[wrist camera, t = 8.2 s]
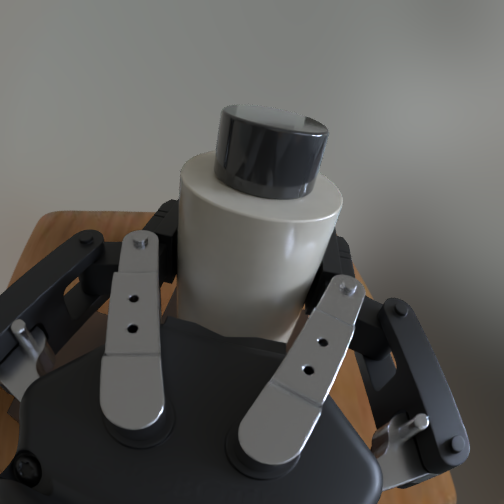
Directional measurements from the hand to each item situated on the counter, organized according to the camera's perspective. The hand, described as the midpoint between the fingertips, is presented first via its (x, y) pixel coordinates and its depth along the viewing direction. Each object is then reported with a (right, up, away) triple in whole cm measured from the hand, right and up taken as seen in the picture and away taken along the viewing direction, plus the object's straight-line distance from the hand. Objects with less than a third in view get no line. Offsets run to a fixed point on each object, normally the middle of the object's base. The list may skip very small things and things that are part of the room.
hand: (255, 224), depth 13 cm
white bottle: (-1, -7, +2) cm, 7 cm away
